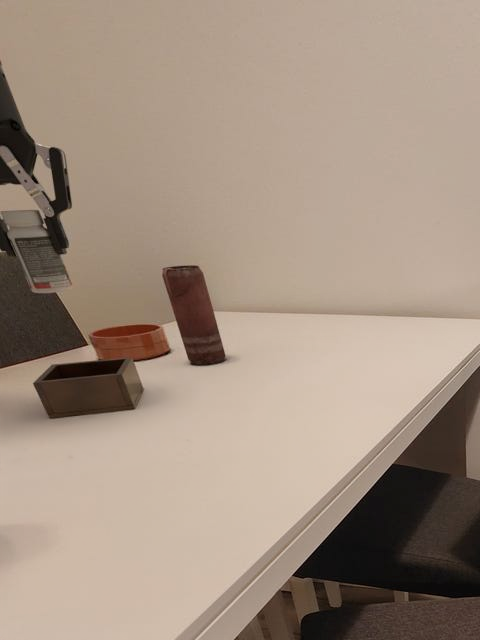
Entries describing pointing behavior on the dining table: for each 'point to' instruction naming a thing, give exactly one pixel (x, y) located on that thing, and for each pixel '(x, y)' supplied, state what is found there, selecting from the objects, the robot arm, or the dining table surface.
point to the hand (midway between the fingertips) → (38, 254)
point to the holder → (89, 387)
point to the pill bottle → (36, 252)
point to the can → (194, 314)
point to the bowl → (130, 341)
